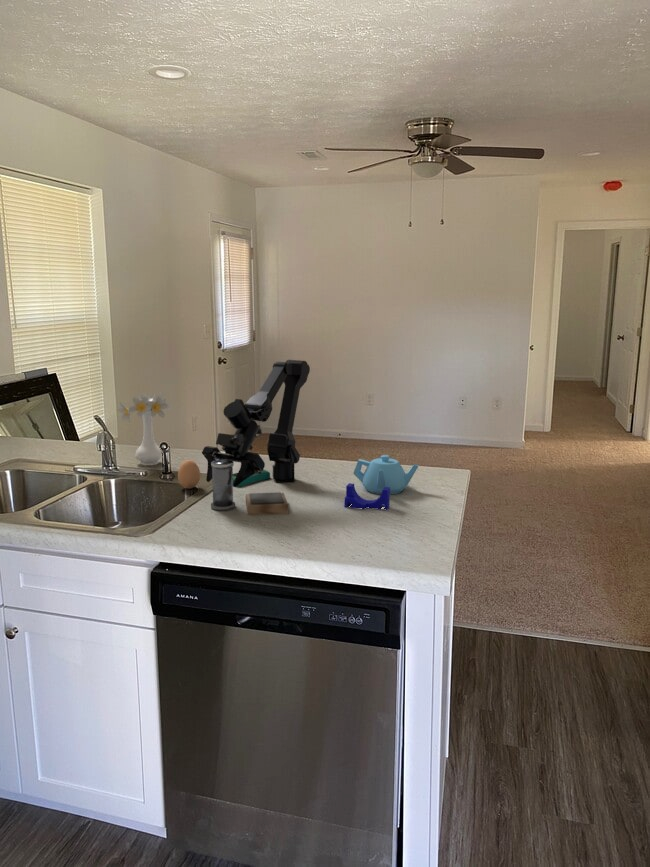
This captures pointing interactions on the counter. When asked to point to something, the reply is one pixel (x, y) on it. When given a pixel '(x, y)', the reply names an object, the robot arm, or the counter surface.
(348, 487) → the cable clip
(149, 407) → the flower vase
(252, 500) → the stand
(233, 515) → the counter surface
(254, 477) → the digital multimeter
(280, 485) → the counter surface
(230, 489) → the grey plastic cylinder
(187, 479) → the egg
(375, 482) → the teapot
